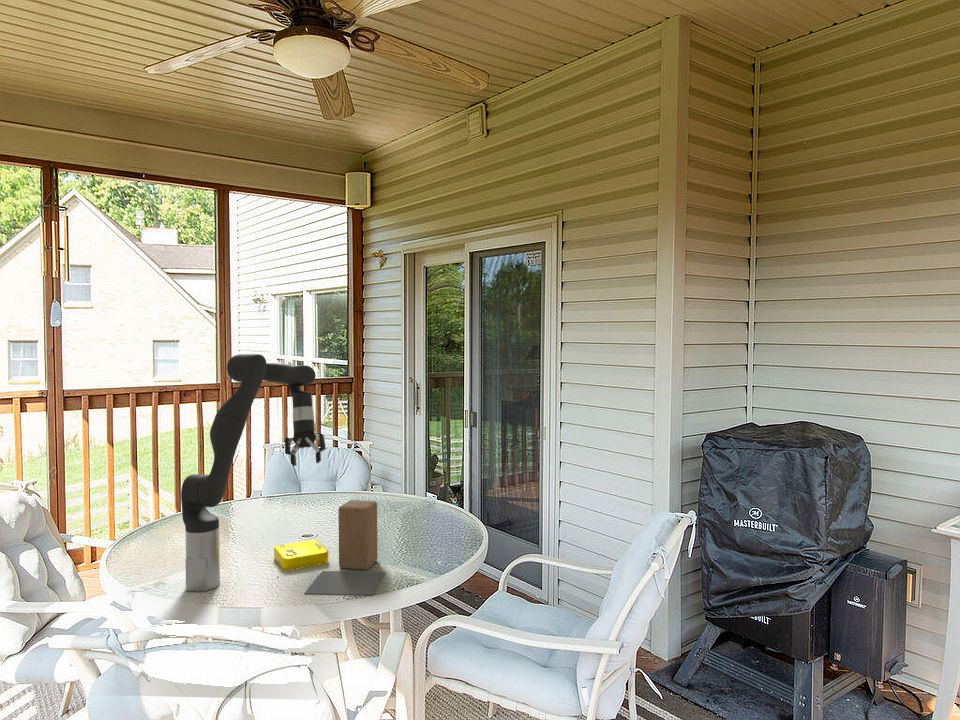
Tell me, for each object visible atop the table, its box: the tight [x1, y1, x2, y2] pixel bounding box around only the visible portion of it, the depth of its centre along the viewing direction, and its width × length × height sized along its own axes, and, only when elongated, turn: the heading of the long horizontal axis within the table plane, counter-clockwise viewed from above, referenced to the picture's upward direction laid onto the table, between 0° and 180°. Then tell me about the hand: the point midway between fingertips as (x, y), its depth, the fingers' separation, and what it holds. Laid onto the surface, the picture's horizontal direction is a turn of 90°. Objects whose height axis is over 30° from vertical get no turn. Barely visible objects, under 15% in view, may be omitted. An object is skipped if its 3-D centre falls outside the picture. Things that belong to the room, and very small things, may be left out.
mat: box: [303, 570, 386, 596], centre depth 198 cm, size 18×20×1 cm
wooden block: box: [337, 499, 378, 571], centre depth 214 cm, size 10×10×20 cm
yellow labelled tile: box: [273, 539, 329, 571], centre depth 219 cm, size 15×15×5 cm
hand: (306, 464), depth 239 cm, fingers open, 8 cm apart
